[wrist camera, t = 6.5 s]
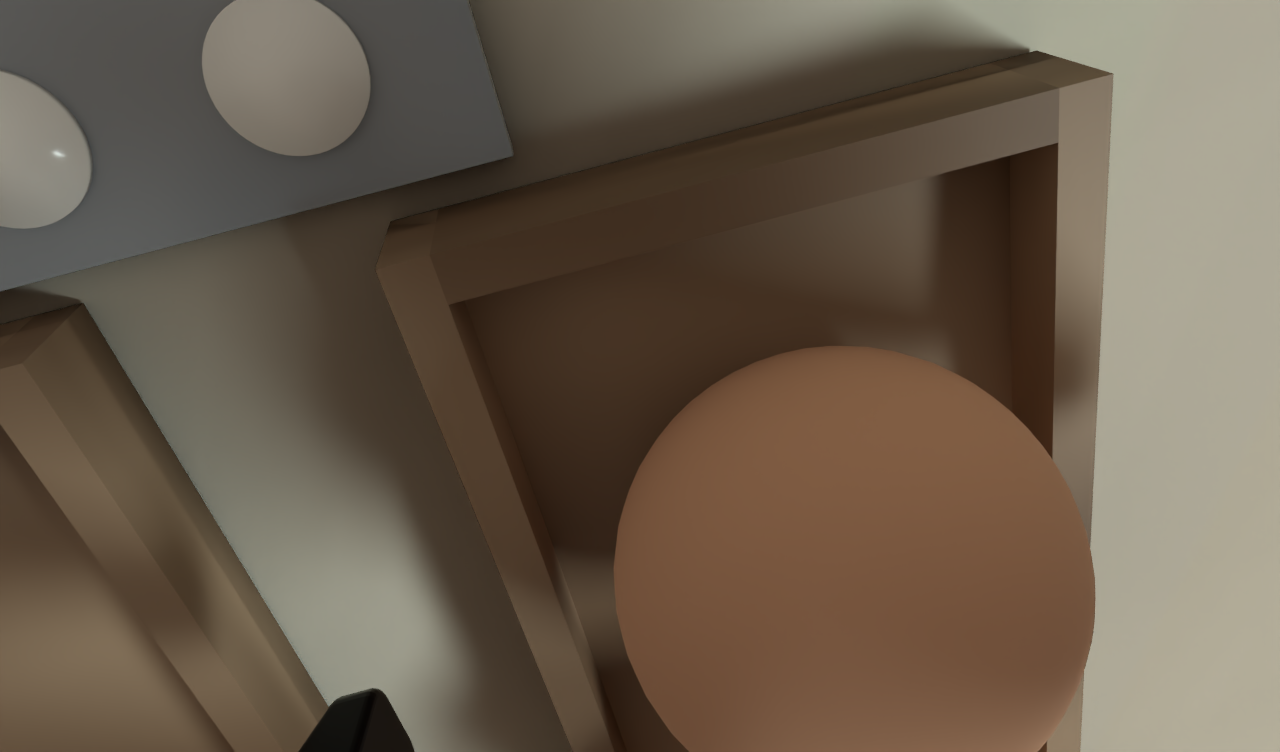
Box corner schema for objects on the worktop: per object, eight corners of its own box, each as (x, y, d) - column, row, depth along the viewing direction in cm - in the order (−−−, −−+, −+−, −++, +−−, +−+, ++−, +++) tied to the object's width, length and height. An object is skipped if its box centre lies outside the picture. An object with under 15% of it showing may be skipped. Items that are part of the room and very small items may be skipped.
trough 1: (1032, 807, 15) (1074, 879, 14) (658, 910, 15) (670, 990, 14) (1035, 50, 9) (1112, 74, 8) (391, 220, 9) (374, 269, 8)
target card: (512, 147, 9) (513, 158, 8) (-77, 303, 9) (-102, 320, 8) (431, -124, 8) (427, -126, 7) (-255, 53, 7) (-290, 63, 7)
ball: (959, 537, 12) (1191, 853, 8) (637, 627, 11) (712, 992, 8) (945, 228, 9) (1256, 457, 6) (546, 337, 9) (587, 645, 5)
